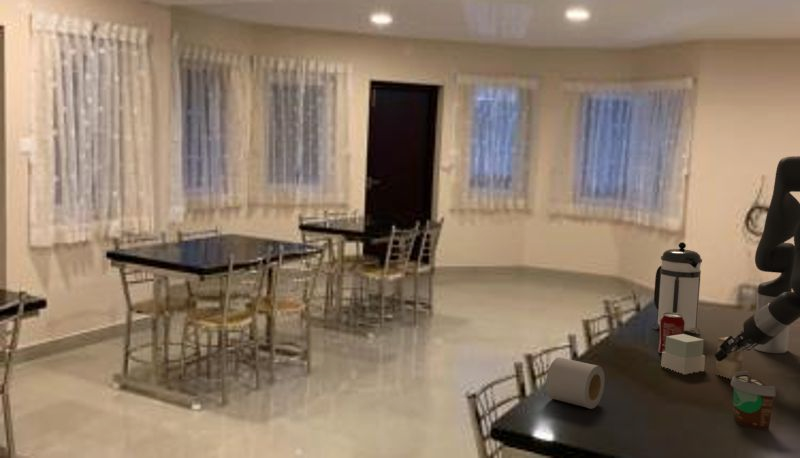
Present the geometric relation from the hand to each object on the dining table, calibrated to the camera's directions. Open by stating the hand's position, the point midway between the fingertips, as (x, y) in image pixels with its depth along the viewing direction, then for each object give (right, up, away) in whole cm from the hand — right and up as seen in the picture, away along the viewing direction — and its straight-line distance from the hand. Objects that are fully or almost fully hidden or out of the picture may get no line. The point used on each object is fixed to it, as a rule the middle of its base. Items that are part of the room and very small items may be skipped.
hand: (723, 357), depth 214 cm
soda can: (-8, -2, +19) cm, 21 cm away
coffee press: (+3, +1, +49) cm, 49 cm away
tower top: (-9, 0, +4) cm, 10 cm away
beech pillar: (+1, -5, -1) cm, 5 cm away
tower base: (-10, -4, +4) cm, 11 cm away
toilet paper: (-46, -7, -27) cm, 54 cm away
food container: (-10, -9, -37) cm, 39 cm away
